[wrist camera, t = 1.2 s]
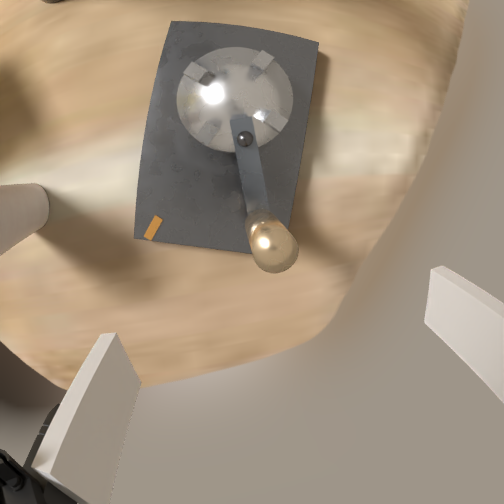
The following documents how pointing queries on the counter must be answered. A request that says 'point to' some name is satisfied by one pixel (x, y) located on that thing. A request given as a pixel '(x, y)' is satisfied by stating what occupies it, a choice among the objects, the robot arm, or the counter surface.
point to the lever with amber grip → (242, 133)
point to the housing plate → (209, 160)
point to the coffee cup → (21, 212)
